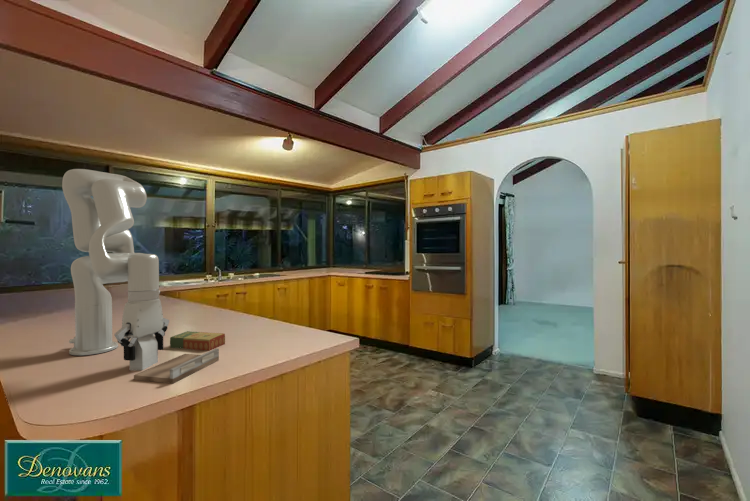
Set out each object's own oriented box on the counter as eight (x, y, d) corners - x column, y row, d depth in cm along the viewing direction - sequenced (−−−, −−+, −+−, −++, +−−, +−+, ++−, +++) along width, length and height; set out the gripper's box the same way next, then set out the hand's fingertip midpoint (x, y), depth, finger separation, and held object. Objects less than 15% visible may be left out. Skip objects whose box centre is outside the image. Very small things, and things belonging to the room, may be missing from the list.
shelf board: (133, 379, 89) (133, 366, 89) (184, 357, 107) (184, 346, 107) (173, 383, 87) (173, 369, 87) (219, 360, 105) (219, 348, 104)
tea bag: (157, 362, 103) (157, 329, 103) (142, 370, 96) (142, 335, 96) (145, 362, 103) (145, 329, 103) (129, 370, 96) (129, 335, 96)
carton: (209, 352, 114) (209, 339, 114) (169, 348, 117) (168, 336, 117) (225, 344, 122) (225, 332, 122) (187, 341, 125) (187, 330, 125)
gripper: (157, 291, 108) (158, 345, 108) (104, 300, 91) (105, 363, 91) (177, 292, 107) (178, 346, 107) (127, 301, 90) (128, 365, 90)
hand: (144, 354), depth 99 cm, fingers open, 9 cm apart
